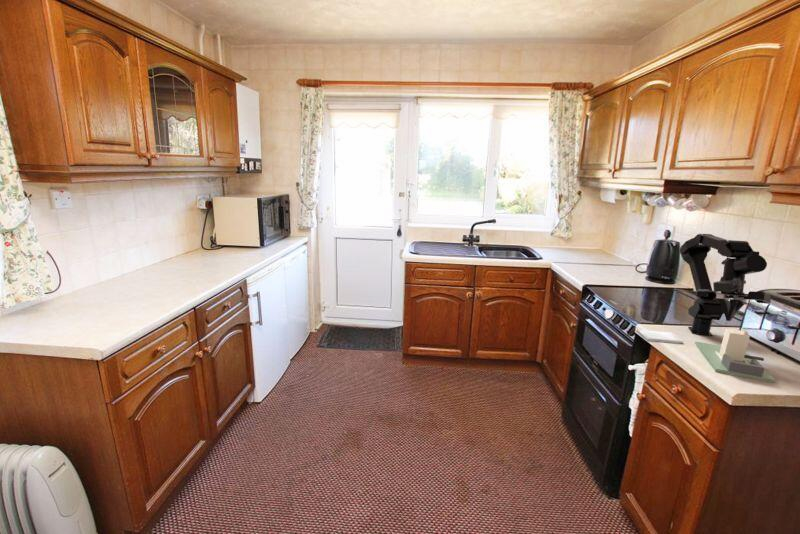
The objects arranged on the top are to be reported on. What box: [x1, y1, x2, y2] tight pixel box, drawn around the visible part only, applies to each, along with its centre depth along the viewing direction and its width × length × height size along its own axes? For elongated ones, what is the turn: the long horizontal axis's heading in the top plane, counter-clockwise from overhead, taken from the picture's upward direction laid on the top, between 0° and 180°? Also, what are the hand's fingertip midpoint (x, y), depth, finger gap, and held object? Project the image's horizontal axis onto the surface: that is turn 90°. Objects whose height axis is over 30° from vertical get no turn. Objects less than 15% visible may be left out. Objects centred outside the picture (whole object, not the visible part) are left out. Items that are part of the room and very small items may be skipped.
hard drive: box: [635, 329, 684, 344], centre depth 141 cm, size 2×8×12 cm
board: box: [694, 341, 776, 383], centre depth 124 cm, size 22×14×2 cm, turn 156°
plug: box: [719, 327, 765, 362], centre depth 122 cm, size 4×10×10 cm, turn 66°
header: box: [721, 354, 765, 377], centre depth 116 cm, size 6×8×3 cm
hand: (728, 320), depth 129 cm, fingers closed
